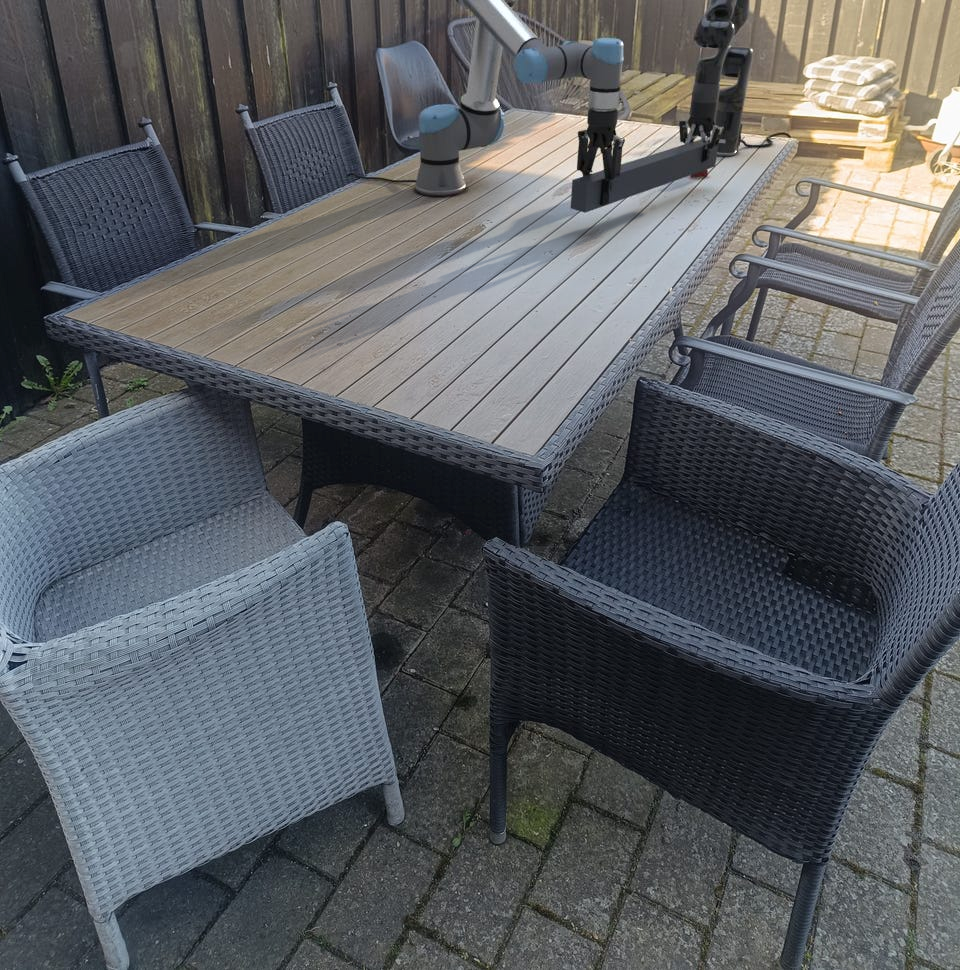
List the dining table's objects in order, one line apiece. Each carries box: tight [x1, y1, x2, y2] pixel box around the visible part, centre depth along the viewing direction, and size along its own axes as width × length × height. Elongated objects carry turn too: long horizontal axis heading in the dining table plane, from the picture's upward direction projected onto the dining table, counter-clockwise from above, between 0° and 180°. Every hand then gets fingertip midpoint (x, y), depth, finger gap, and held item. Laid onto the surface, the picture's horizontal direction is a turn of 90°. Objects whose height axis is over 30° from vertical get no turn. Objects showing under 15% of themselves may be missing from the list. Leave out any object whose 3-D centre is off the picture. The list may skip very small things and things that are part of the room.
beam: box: [570, 138, 719, 213], centre depth 236 cm, size 63×5×7 cm, turn 135°
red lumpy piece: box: [689, 169, 709, 178], centre depth 270 cm, size 6×4×8 cm
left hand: (595, 201), depth 224 cm, fingers closed on beam, 5 cm apart
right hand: (696, 159), depth 251 cm, fingers closed on beam, 5 cm apart
